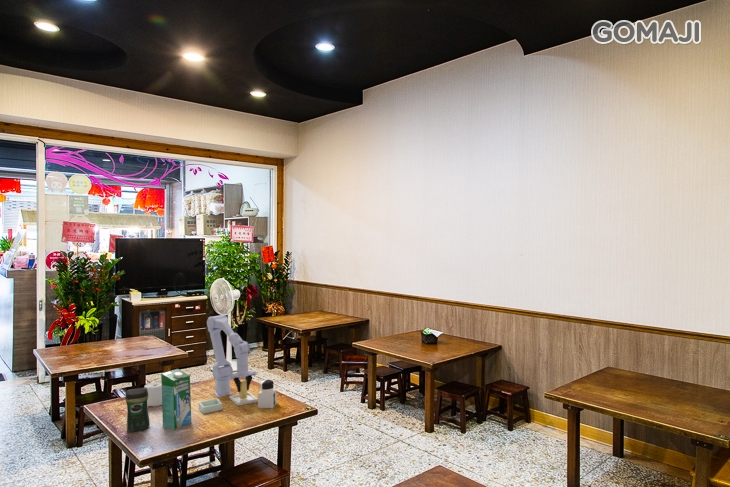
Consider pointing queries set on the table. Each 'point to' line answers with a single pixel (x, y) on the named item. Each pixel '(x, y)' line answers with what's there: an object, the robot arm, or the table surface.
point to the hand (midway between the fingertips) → (243, 390)
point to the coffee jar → (137, 409)
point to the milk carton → (176, 399)
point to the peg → (243, 389)
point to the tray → (239, 401)
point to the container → (267, 395)
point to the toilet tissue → (154, 393)
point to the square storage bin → (210, 406)
